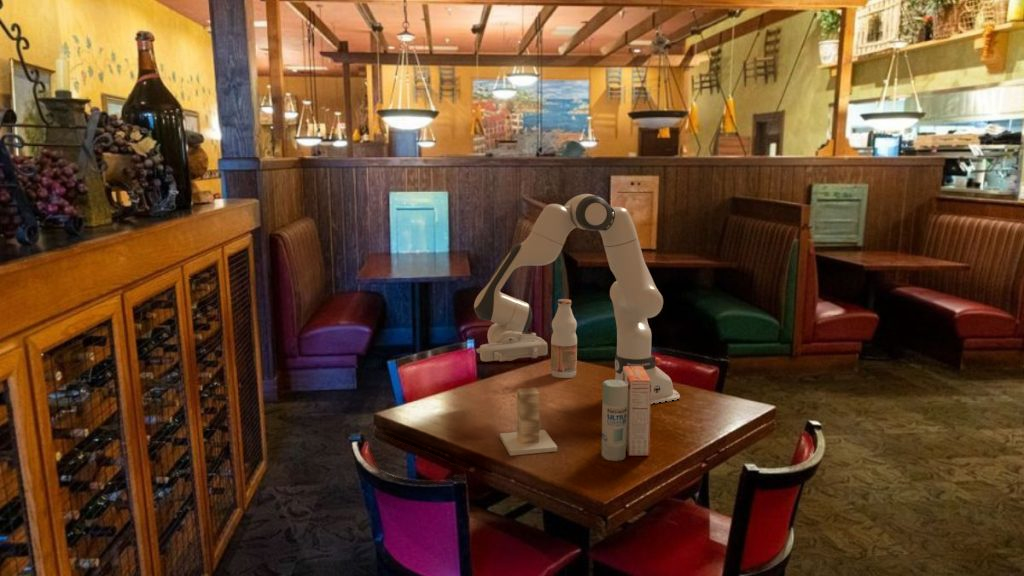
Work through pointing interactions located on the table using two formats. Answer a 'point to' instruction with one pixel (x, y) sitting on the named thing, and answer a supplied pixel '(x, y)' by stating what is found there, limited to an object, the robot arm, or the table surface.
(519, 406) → the beech block
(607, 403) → the spray paint can
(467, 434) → the table surface
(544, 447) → the board
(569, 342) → the fruit juice
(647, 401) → the cracker box
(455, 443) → the table surface
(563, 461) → the table surface
